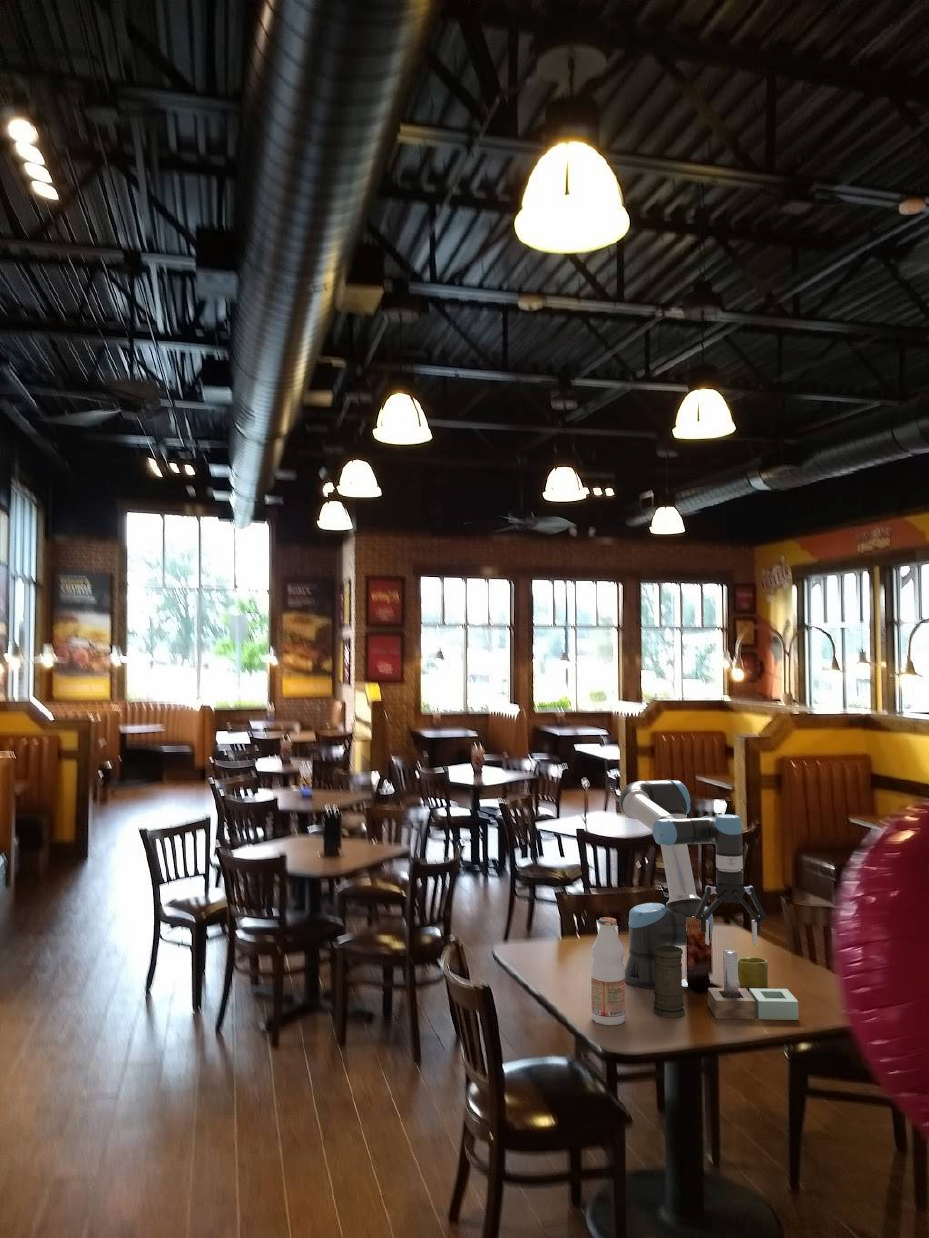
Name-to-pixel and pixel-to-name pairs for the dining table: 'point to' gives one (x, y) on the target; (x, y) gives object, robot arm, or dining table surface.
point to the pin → (730, 973)
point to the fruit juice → (608, 975)
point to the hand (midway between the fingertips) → (730, 944)
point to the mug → (753, 972)
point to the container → (668, 981)
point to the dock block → (775, 1004)
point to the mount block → (731, 1004)
